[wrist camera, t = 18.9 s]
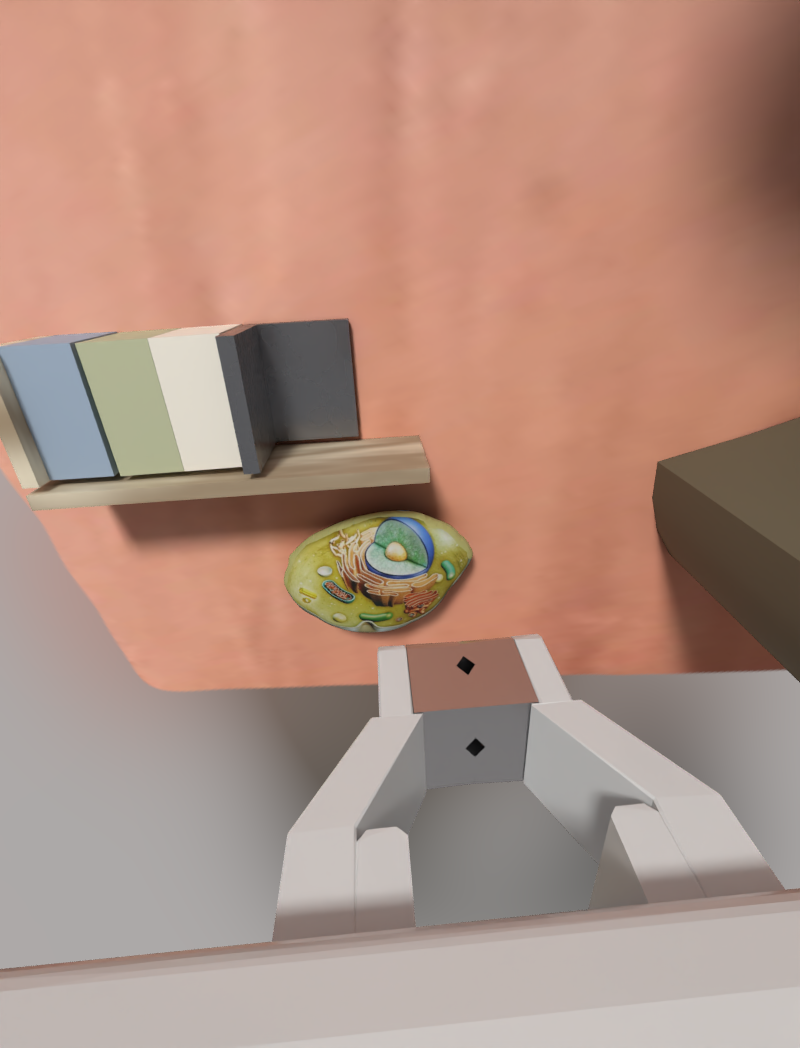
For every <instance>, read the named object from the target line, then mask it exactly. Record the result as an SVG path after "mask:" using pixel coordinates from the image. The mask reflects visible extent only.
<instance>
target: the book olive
mask: <svg viewBox="0 0 800 1048" xmlns="http://www.w3.org/2000/svg"><path fill="white" fill-rule="evenodd" d="M178 329H181V328H174V329H160V330H146V331H132V332H120V333H116V334H112V335H108V336H104V337H100V338H95V339H91V340H87V341H83V342H79V343H75V346H76V349H77V352H78V354H79V357H80V360H81V363H82V366H83V369H84V372H85V375H86V378H87V380H88V383H89V386H90V389H91V392H92V395H93V398H94V401H95V404H96V406H97V409H98V412H99V415H100V418H101V421H102V424H103V427H104V430H105V432H106V435H107V438H108V441H109V444H110V447H111V450H112V453H113V456H114V458H115V461H116V464H117V467H118V470H119V473H120V476H131V475H143V474H156V473H169V472H182V471H184V467H183V464H182V460H181V457H180V453H179V450H178V446H177V443H176V439H175V435H174V432H173V428H172V425H171V421H170V418H169V414H168V411H167V407H166V403H165V400H164V396H163V393H162V389H161V386H160V382H159V379H158V375H157V371H156V368H155V364H154V361H153V357H152V354H151V350H150V347H149V343H148V339H147V338H151V337H154V336H157V335H161V334H164V333H167V332H171V331H174V330H178Z"/></svg>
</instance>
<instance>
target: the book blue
mask: <svg viewBox="0 0 800 1048" xmlns="http://www.w3.org/2000/svg"><path fill="white" fill-rule="evenodd" d="M116 333H117V332H103V333H86V334H68V335H54V336H49V337H44V338H39V339H34V340H29V341H25V342H20V343H15V344H10V345H5V346H0V358H1V361H2V363H3V366H4V368H5V370H6V373H7V375H8V378H9V380H10V383H11V385H12V388H13V390H14V393H15V395H16V398H17V400H18V403H19V405H20V407H21V410H22V412H23V415H24V417H25V420H26V422H27V425H28V427H29V430H30V432H31V435H32V437H33V440H34V442H35V444H36V447H37V449H38V452H39V454H40V457H41V459H42V462H43V464H44V467H45V469H46V472H47V474H48V477H49V479H50V480H64V479H79V478H94V477H108V476H115V475H116V474H118V473H119V470H118V467H117V464H116V461H115V458H114V456H113V453H112V450H111V447H110V444H109V441H108V438H107V435H106V432H105V430H104V427H103V424H102V421H101V418H100V415H99V412H98V409H97V406H96V404H95V401H94V398H93V395H92V392H91V389H90V386H89V383H88V380H87V378H86V375H85V372H84V369H83V366H82V363H81V360H80V357H79V354H78V352H77V349H76V346H75V343H79V342H83V341H87V340H91V339H95V338H100V337H104V336H108V335H112V334H116Z"/></svg>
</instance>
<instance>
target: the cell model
mask: <svg viewBox="0 0 800 1048" xmlns="http://www.w3.org/2000/svg"><path fill="white" fill-rule="evenodd" d="M472 556H473V553H472V549H471V547H470V546H469V544H468V542H467V541H466V539H465V538H464V537H463V536H462V535H460V534H459V533H458V531H457V530H456V529H455V528H453V527H452V526H450V525H449V524H447V523H445V522H443V521H440V520H438V519H434V518H432V517H430V516H427V515H424V514H422V513H419V512H414V511H407V510H395V511H385V512H377V513H371V514H367V515H361V516H357V517H354V518H350V519H347V520H344V521H342V522H339V523H337V524H334V525H332V526H330V527H328V528H326V529H324V530H321V531H319V532H317V533H315V534H313V535H312V536H310V537H308V538H307V539H306V540H305V541H304V542H303V543H301V544H300V546H298V547H297V548H296V549H295V551H293V553H292V554H291V555H290V557H289V564H288V567H287V569H286V572H285V576H284V583H285V586H286V589H287V591H288V593H289V594H290V595H291V597H292V598H293V600H294V601H295V602H296V603H297V605H298V606H299V607H300V608H302V609H303V610H304V611H306V612H307V613H309V614H311V615H313V616H315V617H317V618H319V619H320V620H322V621H324V622H325V623H327V624H330V625H332V626H335V627H338V628H341V629H344V630H349V631H355V632H384V631H390V630H394V629H398V628H400V627H403V626H405V625H407V624H409V623H411V622H413V621H416V620H418V619H420V618H422V617H424V616H425V615H427V614H428V613H430V612H431V611H432V610H433V609H434V608H435V607H436V606H437V605H438V604H439V603H440V602H441V601H442V599H443V598H444V596H445V595H446V593H447V592H448V590H449V589H450V588H451V587H452V586H453V585H454V584H455V582H456V581H457V580H458V579H459V578H460V576H461V575H462V573H463V572H464V570H465V569H466V567H467V566H468V564H469V563H470V561H471V558H472Z"/></svg>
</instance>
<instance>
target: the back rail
mask: <svg viewBox="0 0 800 1048" xmlns="http://www.w3.org/2000/svg"><path fill="white" fill-rule="evenodd" d="M44 337H49V336H39V337H34V338H29V339H24V340H19V341H13V342H8V343H3V344H0V346H5V345H10V344H15V343H20V342H25V341H29V340H34V339H39V338H44ZM0 438H1V440H2V442H3V445H4V447H5V449H6V452H7V454H8V456H9V458H10V461H11V463H12V465H13V468H14V470H15V472H16V474H17V477H18V479H19V481H20V484H21V486H22V488H23V489H25V488H38V489H36V490H35V491H33V492H32V493H30V494H28V495H27V496H26V497H27V500H28V502H29V504H30V506H31V509H32V511H36V510H50V509H64V508H78V507H92V506H106V505H121V504H135V503H149V502H163V501H177V500H191V499H206V498H220V497H234V496H248V495H262V494H276V493H290V492H305V491H319V490H333V489H347V488H361V487H375V486H390V485H404V484H418V483H430V467H429V464H428V461H427V458H426V455H425V452H424V449H423V446H422V443H421V440H420V437H419V436H404V437H389V438H374V439H359V440H344V441H330V442H315V443H300V444H285V445H275V446H274V448H273V450H272V452H271V454H270V456H269V458H268V460H267V461H266V463H265V465H264V467H263V469H262V471H261V473H258V474H244V472H243V468H242V467H233V468H221V469H208V470H196V471H182V472H169V473H156V474H143V475H131V476H120V473H118V474H116V475H115V476H108V477H94V478H79V479H64V480H50V479H49V477H48V474H47V472H46V469H45V467H44V464H43V462H42V459H41V457H40V454H39V452H38V449H37V447H36V444H35V442H34V440H33V437H32V435H31V432H30V430H29V427H28V425H27V422H26V420H25V417H24V415H23V412H22V410H21V407H20V405H19V403H18V400H17V398H16V395H15V393H14V390H13V388H12V385H11V383H10V380H9V378H8V375H7V373H6V370H5V368H4V366H3V363H2V361H1V358H0Z"/></svg>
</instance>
